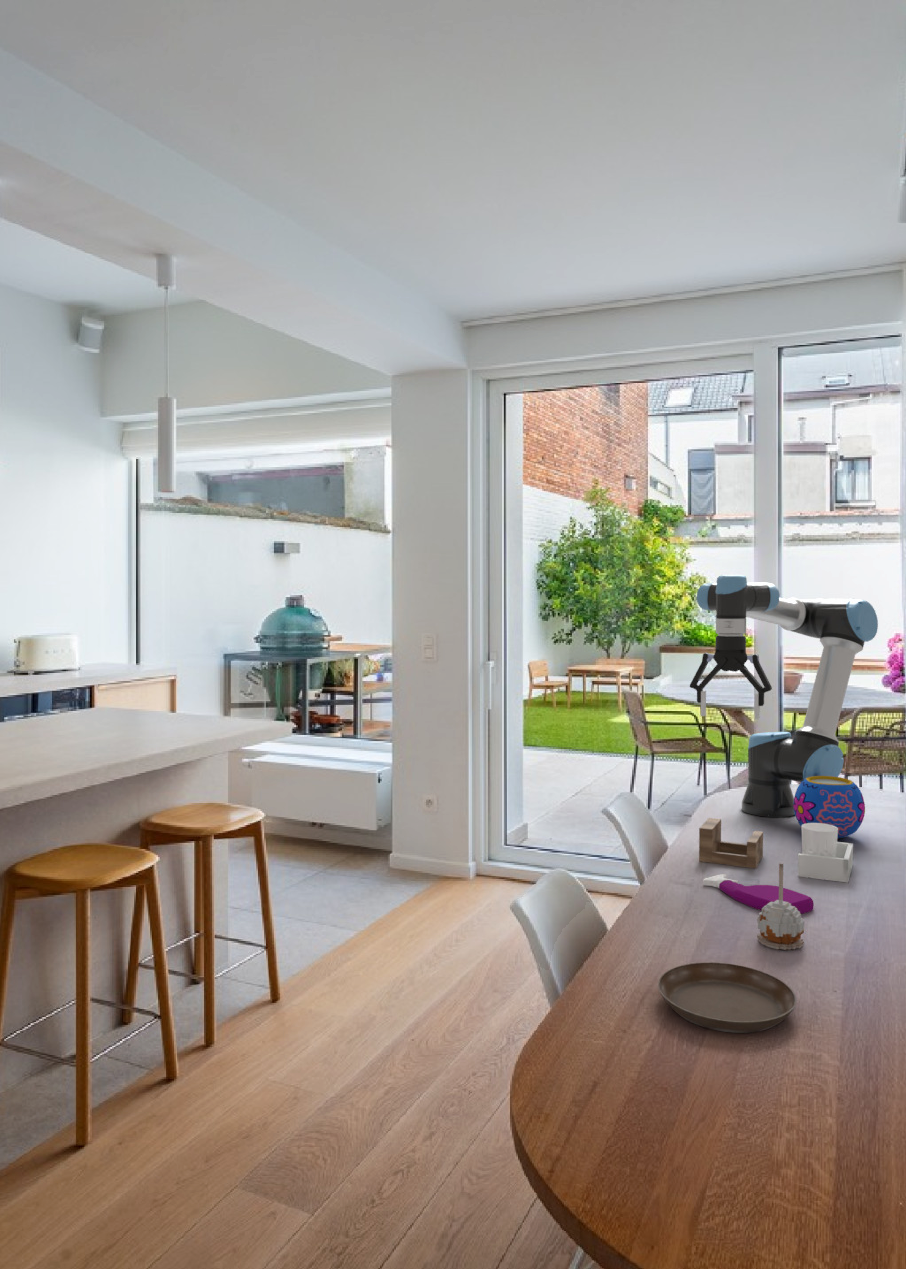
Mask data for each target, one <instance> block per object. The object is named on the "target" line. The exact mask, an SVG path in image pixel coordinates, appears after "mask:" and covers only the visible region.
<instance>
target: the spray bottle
mask: <svg viewBox="0 0 906 1269" xmlns="http://www.w3.org/2000/svg"><path fill="white" fill-rule="evenodd" d="M702 885H703V886H708V887H709V886H710V887H714V888H717V889H719V890H721V891H722V892H723V893H724V894H726V895H727V896H729V897H730V898H732V899H734V900H735V901H737V902H739V903H741V904H743V905H745V906H747V907H750V908H753V909H755V908H756V910H758V909H759V910H758V911H761V910H762V908H763V907H764V906H766V905H767V904H768V903H770V902H775V901H776V900H779V885H778V886H777V885H771V884H753V885H752V884H751V885H744V884H741V883H739V880H735V879H730V878H727V874H725V873H724V874H723V873H722V874H717V875H713V876H710V877H706V878H703V880H702ZM783 901H785V902H789V903H790V904H791V906H794V907H795V908H797V910H798V911H800V914H801V915H803V914H807V913H811V912H812V910H814V905H815V903H814V900H813V898H812V897H811V896H808V895H807V894H803V893H801V892H798V891H795V890H792V889H790V888H784V887H783Z"/></svg>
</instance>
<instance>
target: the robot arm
mask: <svg viewBox="0 0 906 1269" xmlns="http://www.w3.org/2000/svg"><path fill="white" fill-rule="evenodd" d="M780 594H781V593H780V591H779V589H778V587H777V586H776V585H775V584H773V583H771V582H763V581H762V582H748V581H747V576H745V575H743V574H742V575H741V574H735V575H733V574H730V575H729V574H728V575H727V574H723V575H722V574H721V575H719V576H718V577H717V578H716V582H711V583H710V582H709V583H703V584H702V585H700V586H699V587H698V590H697V592H696V603H697V604H698V606H699V607H700V608H701V609H702V610H704V611H710V612H714V611H715V634H717V635H716V636H715V650H714V654H713V653H708V652H705V653H703V654H702V658H701V663H700V665H699V667H698V668H697V670H696V672H695V674H694V676H693V678H692V680H691V682H690V684H689V688H691V689H694V690H695V691H696V702H697V703H698V704H700V717H705V716H707V711H706V710H707V690H704V689H705V687H706V686H707V685H709V683H710V682H711V681H712V679H713V678H714V677H715V676H716V675H717V674H718V673H719V672H720V671H723V672H729V671H730V672H738V671H739V672H740V673H741V674H742V675H743V676H744V677H745V678H746V679H747V681H748V682H749V683H750V684H751V686H753V688H754V689H755V690H756V691H757V692H755V694H754V720H759V719H760V717H761V716H760V714H761V713H760V712H761V711H760V710H761V707H763V706H764V705H765V693H767V692H770V691H771V690H773V689H772V685H771V683H770V681H769V678H768V677H767V675H766V673H765V671H764V669H763V666H762V665H761V662H760V656H759V654H758V653H755V654H751V655H748V654H747V637H746V636H745V635H746V633H747V618H750V619H753V620H758V621H761V622H767V623H770V624H775V625H779V626H780V627H781V628H782V629H784V630H786V631H789V632H793V633H796V634H799V635H803V636H807V637H810V638H814V639H819V642H820V643H821V645H822V647H823V649H822V652H821V656H820V660H819V665H818V667H817V672H816V674H815V679H814V683H813V686H812V691H811V695H810V699H809V702H808V706H807V710H806V714H805V717H804V721H803V724H802V726H801V727H800V728H798V729H796V730H795V733H794V736H793V738H792V733H791V732H789V731H770V732H757V733H753V734H751V735H750V736H749V739H748V747H747V752H748V753H747V754H748V755H747V760H748V761H747V764H748V765H747V768H748V769H747V770H748V771H747V775H748V776H747V779H748V780H747V786H746V789H745V791H744V795H743V798H742V801H741V811H743V812H744V813H746V814H750V815H752V816H753V815H754V816H759V817H769V818H786V817H792V816H795V813H794V807H793V803H794V797H795V795H794V794H793V791H792V790H793V789H792V787H791V781H793V782H798V783H801V782H802V781H803V780H804V779H806V778H808V777H812V776H833V777H840V774H841V772H842V770H843V767H844V760H845V759H844V753H843V751H842V749H841V748H840V747H839V743H840V741H839V739H838V738H837V736H836V731H837V728H838V725H839V720H840V715H841V713H842V707H843V704H844V701H845V700H844V699H845V696H846V691H847V688H848V684H849V680H850V676H851V673H852V670H853V666H854V661H855V658H856V655H857V654H858V653H860V652H862V651H863V650H864V645H865V643H866V642H869V641H872V640H873V639H874V638H875V637H876V635H877V633H878V629H879V628H878V627H879V625H878V624H879V620H878V615H877V612H876V610H875V608H874V607H873V605H872V604H871V603H870V602H869V601H866V600H864V599H855V598H849V599H848V598H846V599H844V598H837V599H836V598H827V599H826V598H816V599H815V598H814V599H800V598H796V597H791V598H788V599H785V598H781V597H780ZM712 660H714V662H715V663H716V665H715V666H714V668H713V669H711V671H710V672H709V673H708V674H707V675H706V676H705V677H704V679H703V680H702V681H701V682H700V683H699V681H700V680H701V678H702V676H703V674H704V672H705V670H706V668H707V666H708V664H709V663H710V662H711V661H712ZM748 661H749V662H750V663H751V664H753V665H752V666H753V667H754V670H755V672H756V674H757V675H758V677H759V679H760V681H761V683H762V685H761V684H760V682H759V681H758V680H757V679H756V677H755V676H754V675H753V674H752V673H751V672H750V671H749V669H748V667H747V666H746V665H745V664H746V662H748ZM698 683H699V684H698Z"/></svg>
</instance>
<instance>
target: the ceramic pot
mask: <svg viewBox="0 0 906 1269" xmlns="http://www.w3.org/2000/svg"><path fill="white" fill-rule="evenodd" d="M863 795H864V794H863V793H862V790H861V789H860V788H859V786H858V784H856V783H855V782H854V781H853V780H851V779H848V778H845V777H840V776H838V777H833V776H812V777H808V778H806V779H804V780H803V781H802V782H799V784H798V786H797V788H796V790H795V795H794V803H793V807H794V813H795V815H794V817H795V819H796V821H797V823H798V824H799V826H800V827H801V825H803V824H806V823H823V824H829V825H833V826H835V827H837V828H838V837H837V840H838V839H843V838H845V837H849V836H851V835H853V834H855V833H856V832H857V831H858V830H859V828H860V827H861V825H862V823H863V821H864V819H865V818H864V817H865V814H866V806H865V805H866V804H865V800H864V796H863Z"/></svg>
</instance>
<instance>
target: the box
mask: <svg viewBox="0 0 906 1269" xmlns="http://www.w3.org/2000/svg"><path fill="white" fill-rule="evenodd" d="M853 861H854V843H851V842H841V841H837V851H836V858H835V857H827V856H818V855H809V854H802V852H801V853H800V852H799V853H798V854H797V877H801V878H808V877H811V878H810V879H819V880H824V879H825V880H824V881H833V882H843V883H849V881H850V876H851V874H852V868H853V865H854V862H853Z"/></svg>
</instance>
